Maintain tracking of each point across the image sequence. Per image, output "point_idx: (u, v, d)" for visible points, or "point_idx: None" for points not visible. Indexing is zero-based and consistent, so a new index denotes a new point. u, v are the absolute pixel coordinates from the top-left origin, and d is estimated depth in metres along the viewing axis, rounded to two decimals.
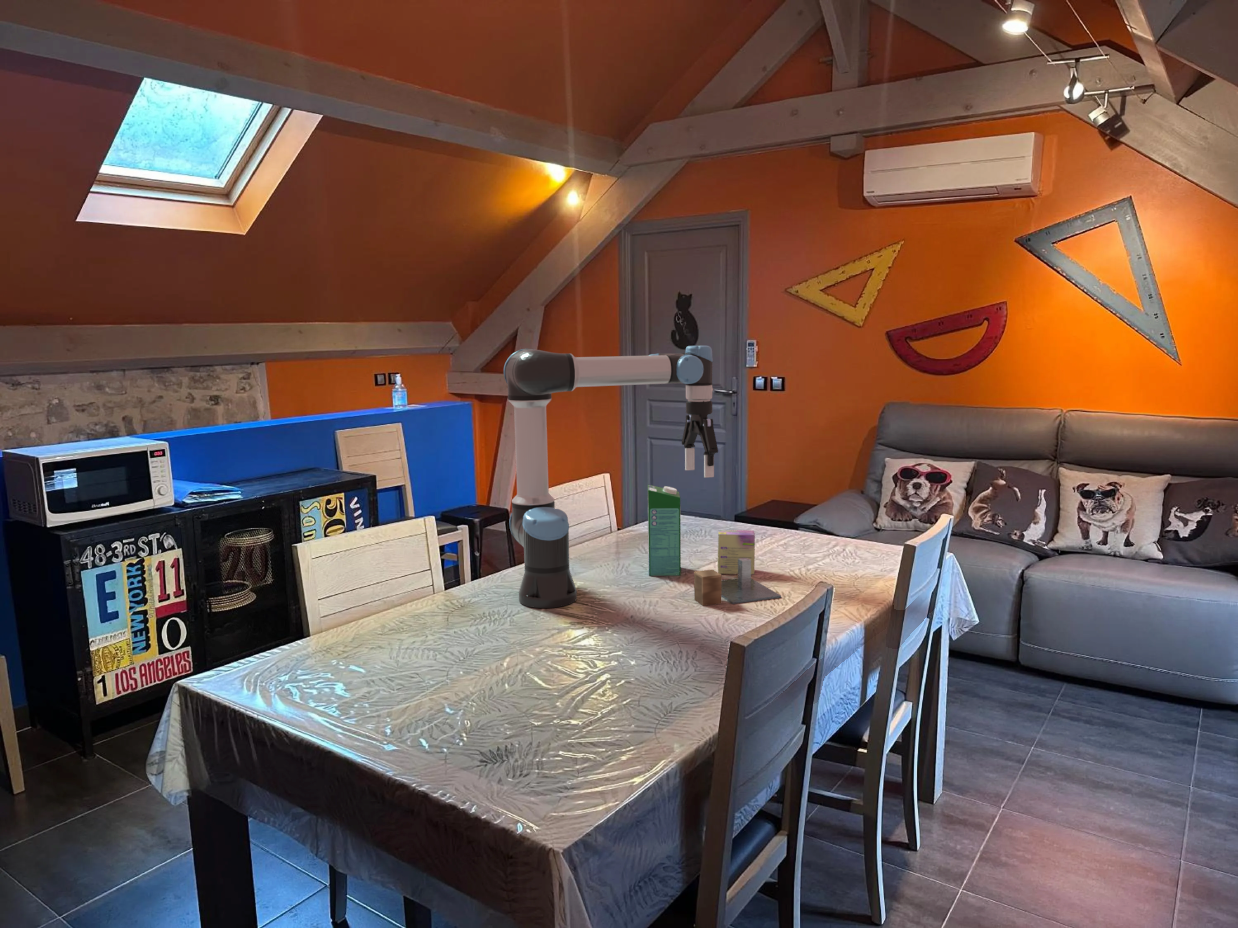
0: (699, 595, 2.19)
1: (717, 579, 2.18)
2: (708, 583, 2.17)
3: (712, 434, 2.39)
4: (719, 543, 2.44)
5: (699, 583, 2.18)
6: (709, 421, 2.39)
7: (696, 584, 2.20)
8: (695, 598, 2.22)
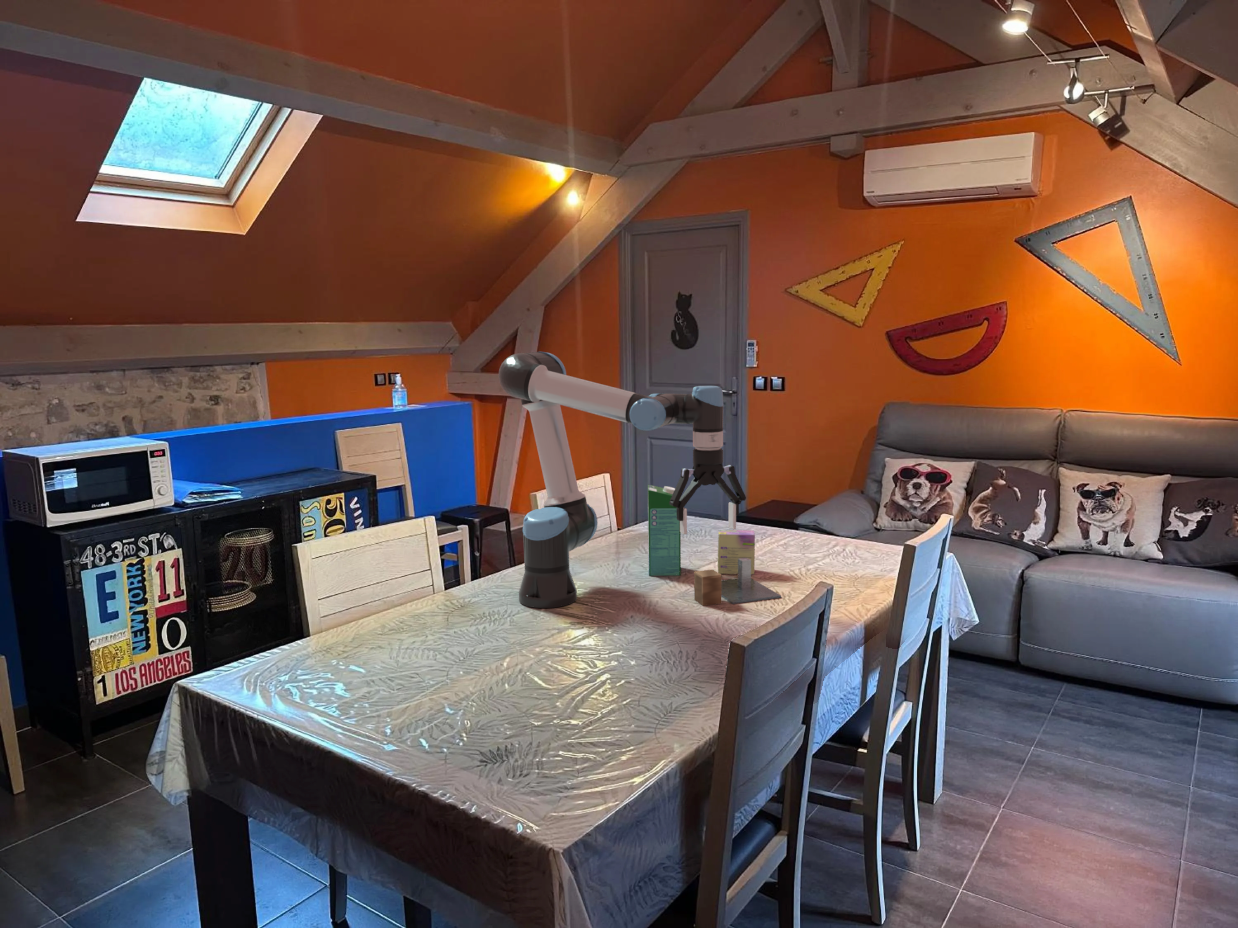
0: (699, 595, 2.19)
1: (717, 579, 2.18)
2: (708, 583, 2.17)
3: (679, 486, 2.13)
4: (719, 543, 2.44)
5: (699, 583, 2.18)
6: (683, 470, 2.13)
7: (696, 584, 2.20)
8: (695, 598, 2.22)
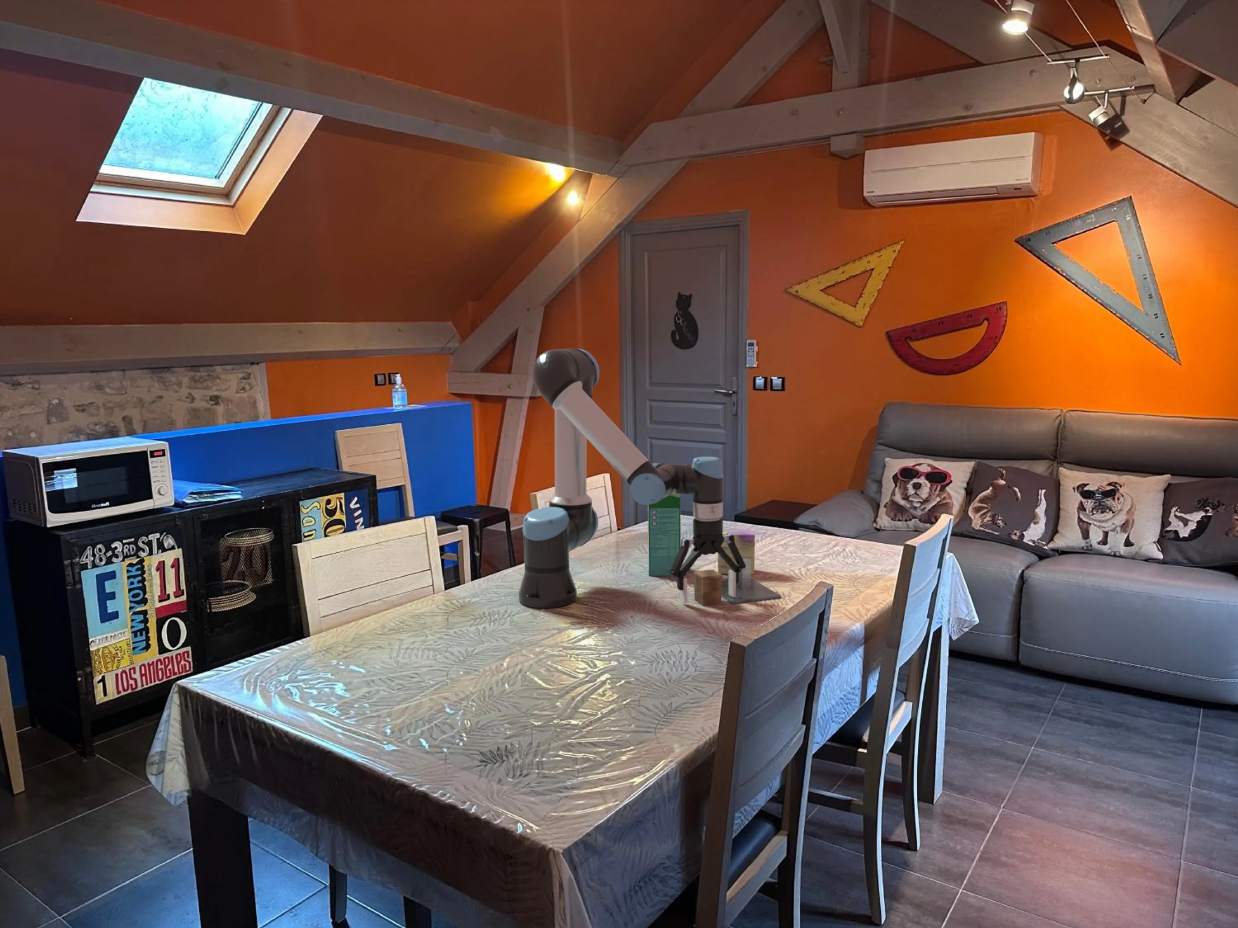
0: (699, 595, 2.19)
1: (717, 579, 2.18)
2: (708, 583, 2.17)
3: (679, 556, 2.16)
4: None
5: (699, 583, 2.18)
6: (683, 541, 2.16)
7: (696, 584, 2.20)
8: (695, 598, 2.22)
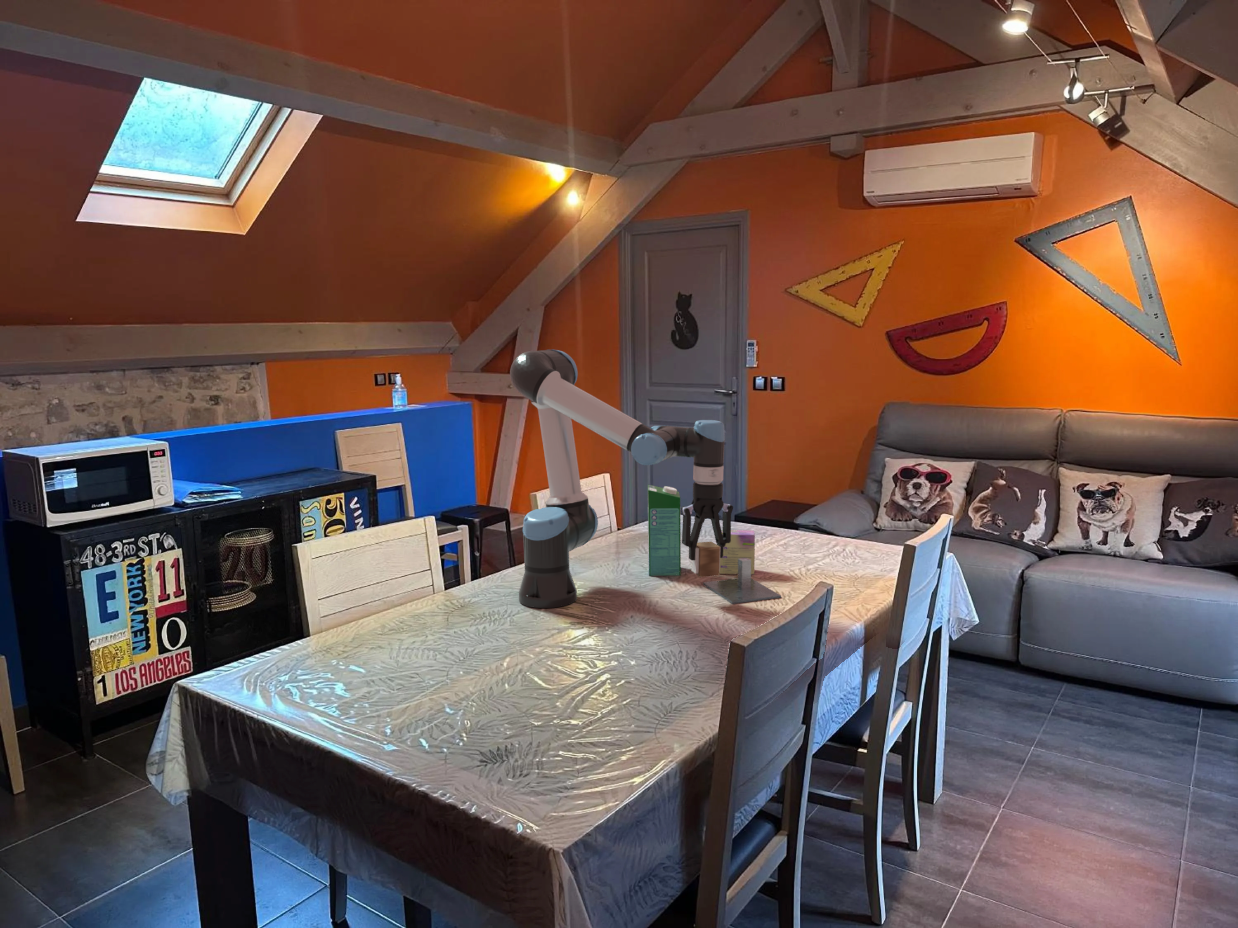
0: None
1: (715, 551, 2.17)
2: (706, 554, 2.16)
3: (685, 525, 2.15)
4: None
5: None
6: (683, 510, 2.15)
7: None
8: None
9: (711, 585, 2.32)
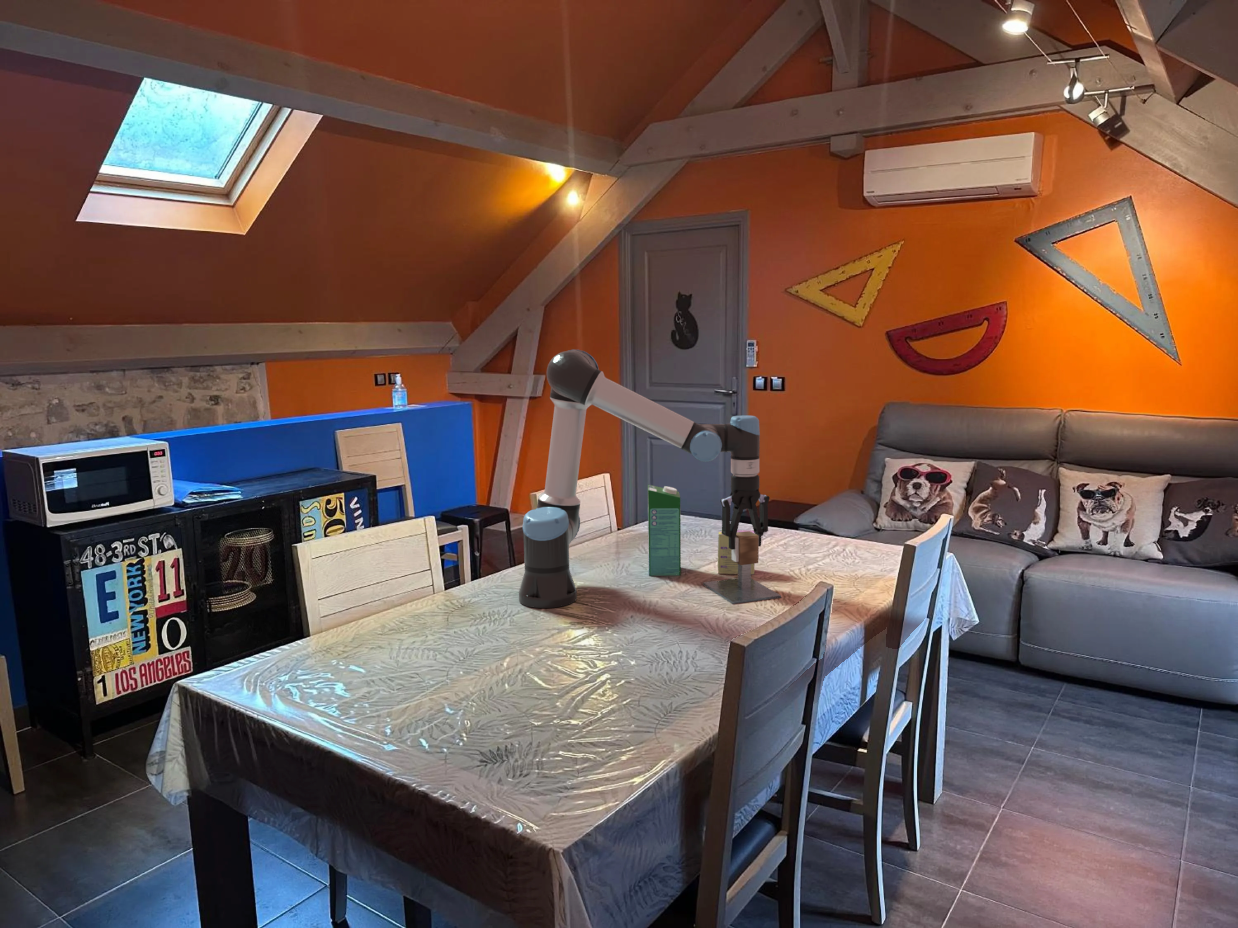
0: None
1: (754, 539, 2.28)
2: (746, 543, 2.27)
3: (724, 516, 2.26)
4: (719, 543, 2.44)
5: None
6: (722, 502, 2.26)
7: None
8: None
9: (711, 585, 2.32)
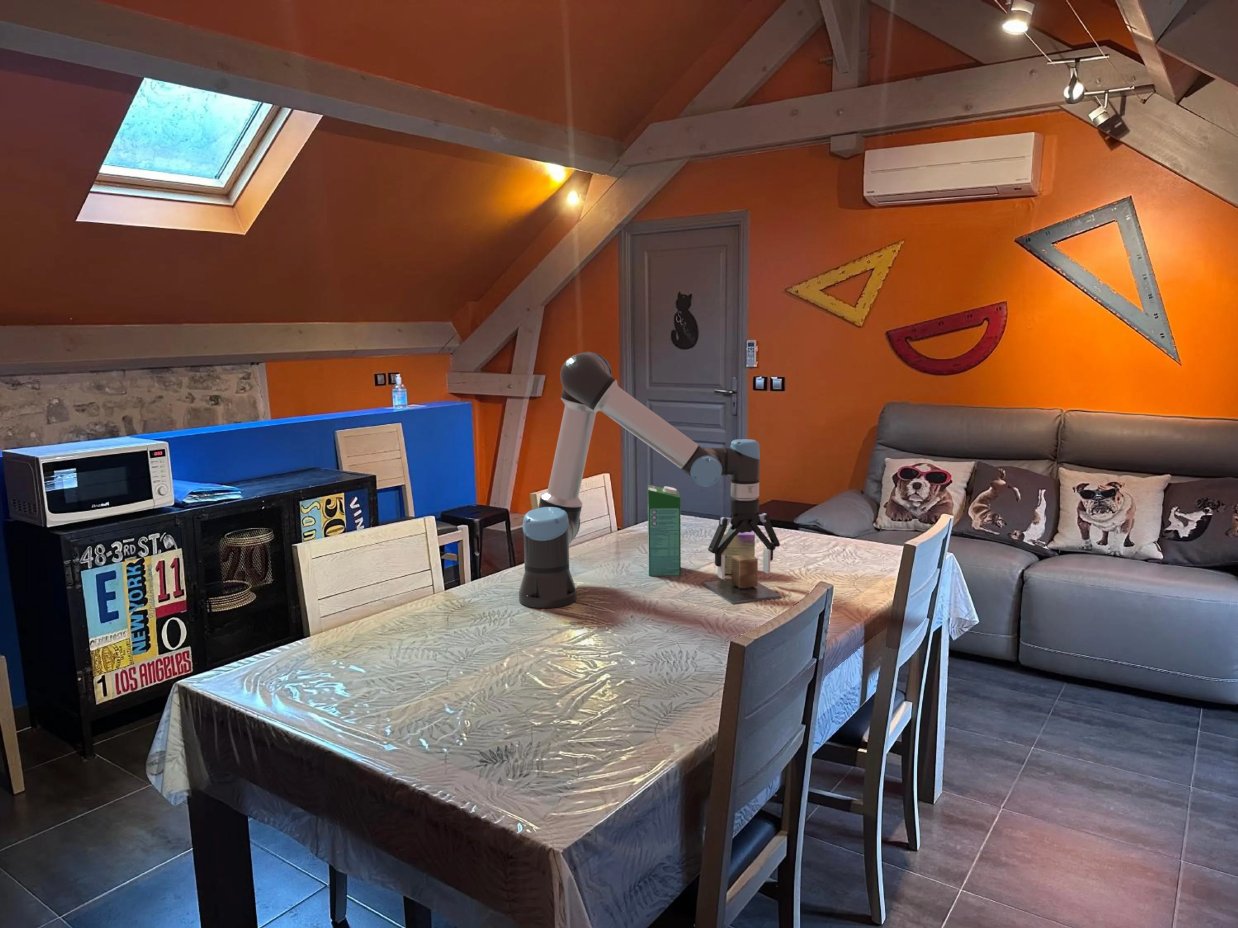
0: (737, 578, 2.30)
1: (753, 563, 2.29)
2: (745, 566, 2.28)
3: (718, 533, 2.26)
4: None
5: (736, 566, 2.29)
6: (721, 519, 2.26)
7: (733, 568, 2.31)
8: (732, 581, 2.33)
9: (711, 585, 2.32)
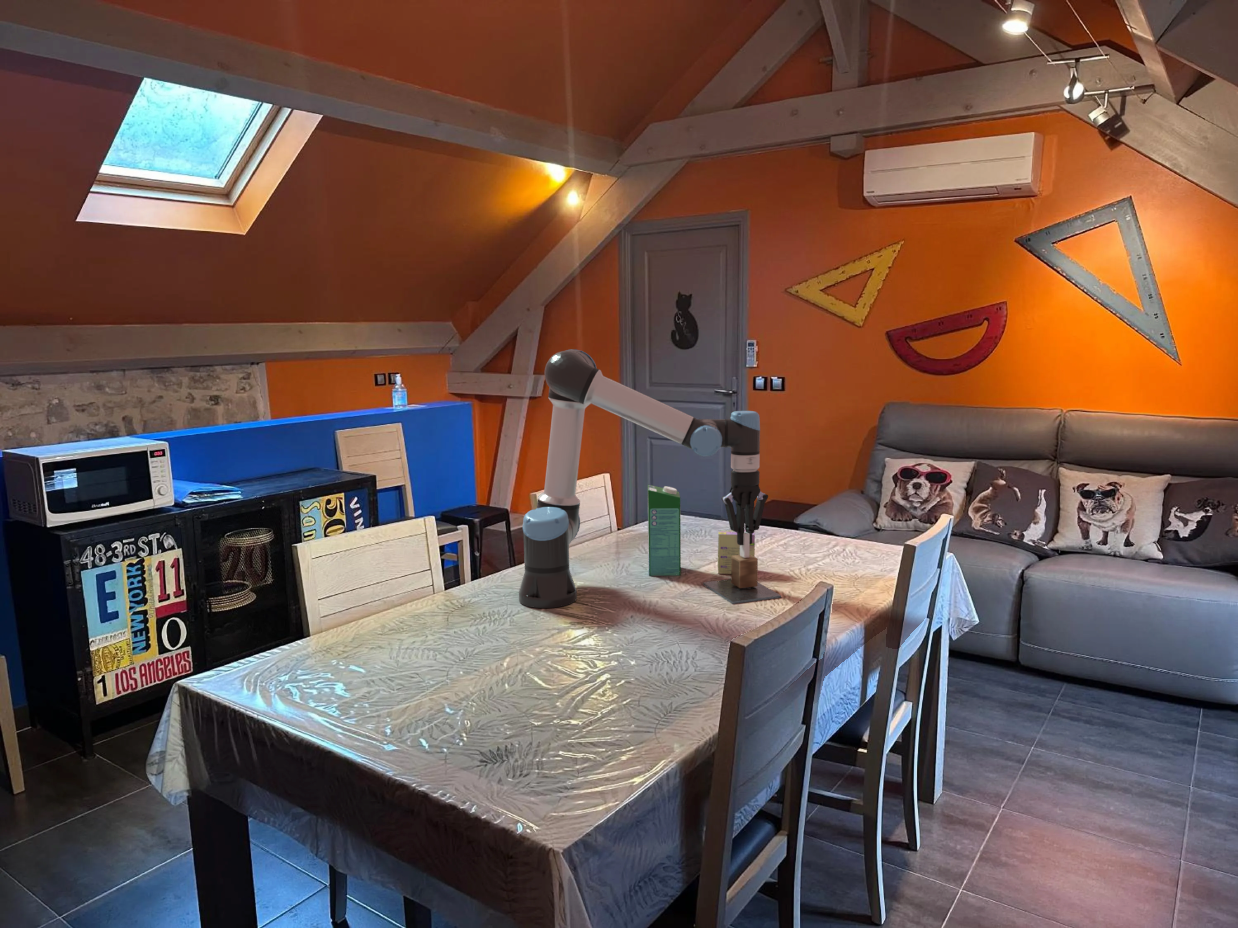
0: (737, 578, 2.30)
1: (753, 563, 2.29)
2: (745, 566, 2.28)
3: (729, 513, 2.26)
4: (719, 543, 2.44)
5: (736, 566, 2.29)
6: (723, 500, 2.26)
7: (733, 568, 2.31)
8: (732, 581, 2.33)
9: (711, 585, 2.32)
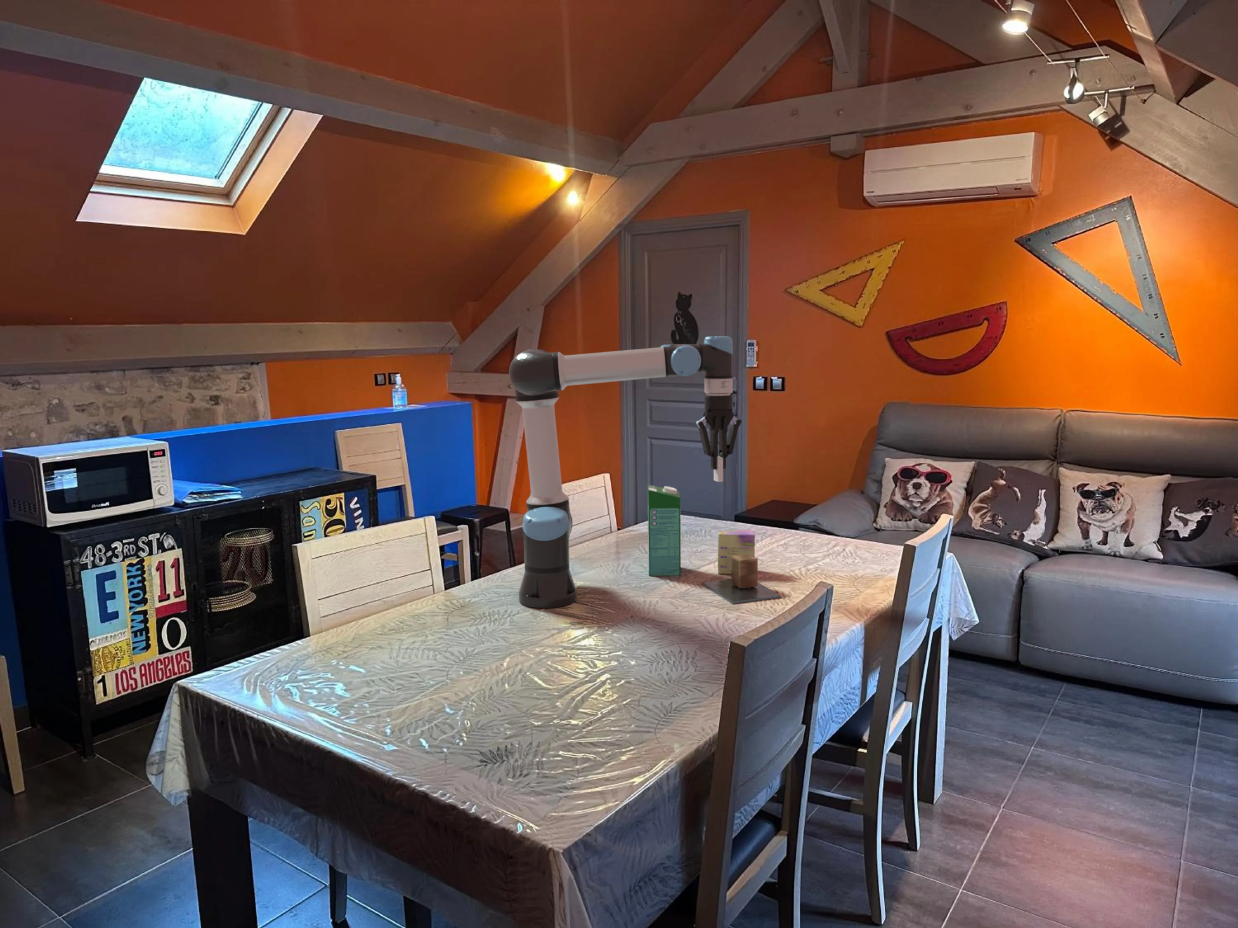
0: (737, 578, 2.30)
1: (753, 563, 2.29)
2: (745, 566, 2.28)
3: (703, 437, 2.30)
4: (719, 543, 2.44)
5: (736, 566, 2.29)
6: (697, 424, 2.29)
7: (733, 568, 2.31)
8: (732, 581, 2.33)
9: (711, 585, 2.32)
